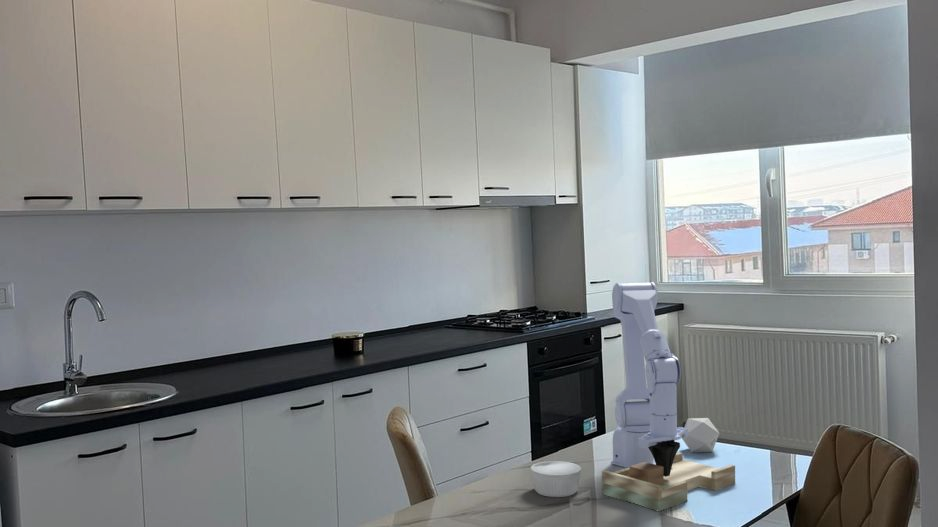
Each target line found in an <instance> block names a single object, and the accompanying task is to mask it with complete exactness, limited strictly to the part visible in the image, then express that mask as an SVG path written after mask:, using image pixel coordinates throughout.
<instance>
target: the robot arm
mask: <svg viewBox="0 0 938 527" xmlns="http://www.w3.org/2000/svg"><path fill="white" fill-rule="evenodd" d="M611 299H612V302H611V303H612V312H613V317H614V318H615V319H617V320H620V325H621V331H622V332H621V333H622V346H623V347H622V348H623V360H624V361H623V362H624V372H625V386H626V387H625V388H624V389H623V390H622V391H620V392H619V393H618V394H617V395H616V397H615V409H614V410H615V411H614V416H615V422H616V425H617V426H618V427H616V428H615V430H614V432H613V434H612V461H610V464H612V465H616V466H618V467H619V466H620V467H623V468H625V469H626V468H629V467H630V466H633V465H636V464H639V463H643V462H647V463H651V464H655V465H659V466H663V476H665V477H667V476H670V472H671V468H672V464H673V460H674V458H675V455H676V453H678V452H679V449H680V448H681V443H680V442H678V441H679V440H682V438H681V437H684V438H686V437H688V428H684V427H682V426H679V427H678V410H677V408H678V406H677V405H678V404H677V402H678V401H677V400H678V398H677V397H678V395H677V394H678V390H677V388H678V387H677V385H678V384H679V383H680V382H681V377H682V376H681V375H682V372H681V371H682V370H681V365H680V360H679V359H678V357H677V356H675V354H674V353H671V350H670V347H669V344H668V340H667V337H666V334H665V333H664V332H663V331H661V330H659V329H658V328H659V327H658V324H657V323H658V322H657V319H656V315H655V310H656V307H657V304H658V300H659V291H658V287H657V285H656V284H655V282H653V281H649V282H631V283H629V282H623V283H620V282H616V283H615V284H614V285H613V287H612V292H611ZM628 400H637V401H628ZM639 400H640V401H639ZM641 400H642V401H641Z"/></svg>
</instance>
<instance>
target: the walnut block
mask: <svg viewBox="0 0 938 527" xmlns="http://www.w3.org/2000/svg"><path fill="white" fill-rule="evenodd" d="M630 477H631V478H635V479H638V480H642V481H646V482H649V483H653V484H656V485H660V486H663V485H664V476H663V466H659V465H655V464H651V463H647V462H643V463H639V464H636V465H633V466H630Z"/></svg>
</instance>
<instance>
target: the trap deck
mask: <svg viewBox="0 0 938 527" xmlns="http://www.w3.org/2000/svg"><path fill="white" fill-rule="evenodd" d="M735 484H736V465H733V464H729V465H726V466H723V467H720V468H719V467H715V466H711V465H707V464H702V463H698V462H694V461H690V460H686V459H683V453H682V452H677V453H676V455H675V458H674V460H673V464H672V468H671V472H670V476H667V477H665V476H664V485H663V486H660V485H656V484H653V483H649V482H646V481H642V480H638V479H635V478H631V477H630V467H629V468H626V467H625V468H623V469H620V470H617V471H616V470H615V471H614V472H612V471H609V470H606V469H605V470H602V471H601V486H602V488H601V492H602V495H604V496H607V497H610V498H613V497H614V499H616V498H617V499H616V500H620V499H621V500H620V501H623V500H625V501H624V502H626V501H628V502H627V503H629V502H631V503H630V504H633V503H635V504H634V505H636V504H639V505H642V506H645V507H644V508H646V507H648V508H647V509H649V508H651V509H650V510H652V509H655V510H658V511H657V512H661V511H660V510H662V511H664V510H667V509H669V507H670V508H672V507H675V506H678V505H681V504H683V503H685V502H688V491H691V490H695V489H696V488H700V487H701V488H704V489H708V490H712V491H715V492H716V491H719V490H721V489H724V488H727V487H729V486H731V485H735ZM639 505H638V506H639ZM642 506H641V507H642ZM666 508H667V509H666ZM663 509H664V510H663ZM655 510H654V511H655Z"/></svg>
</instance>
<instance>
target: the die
mask: <svg viewBox="0 0 938 527" xmlns="http://www.w3.org/2000/svg"><path fill="white" fill-rule="evenodd" d="M683 428H688V437H686V438H684V437H681V440H682V441H683V442H684V444H685V445H686V446H687V448H688V449H689V451H690V452H691V453H711V452H713V451H714V448H715V445H716V443H717V441H718V439H719V435H720V432H719V431H718V429H717V428H716V427H715V425H714V423H712V421H711V420H710V418H708V417H695V418H694V417H693V418H689V417H688V418H687V419H686V422H685V424H684V427H683Z"/></svg>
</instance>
